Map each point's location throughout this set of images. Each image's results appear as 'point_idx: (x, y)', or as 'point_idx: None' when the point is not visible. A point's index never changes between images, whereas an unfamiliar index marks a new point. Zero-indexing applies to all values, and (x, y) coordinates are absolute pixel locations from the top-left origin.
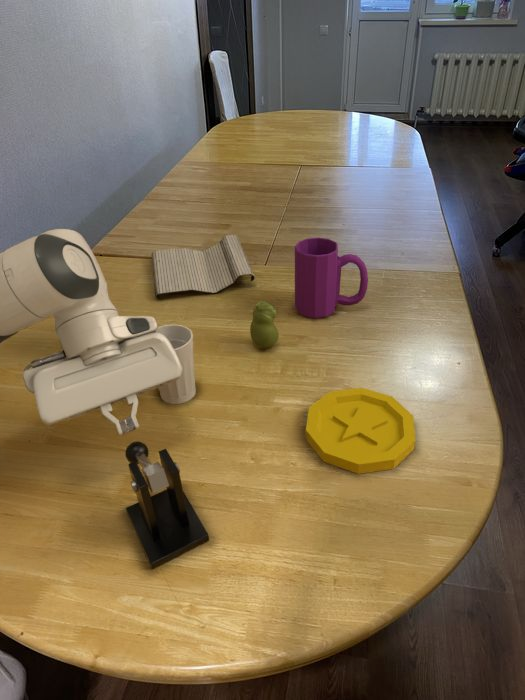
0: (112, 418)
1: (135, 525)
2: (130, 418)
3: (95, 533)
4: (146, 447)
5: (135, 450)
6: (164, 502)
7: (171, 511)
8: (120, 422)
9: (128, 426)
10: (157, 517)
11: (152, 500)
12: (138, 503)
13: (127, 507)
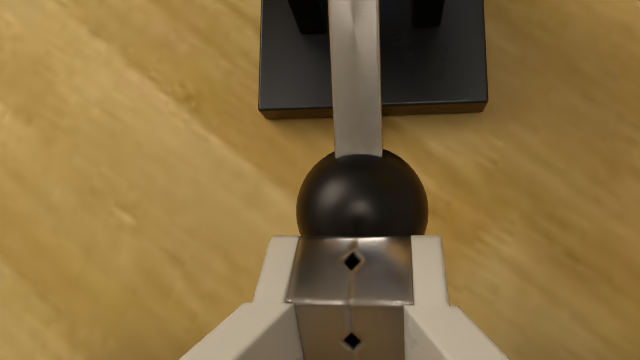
0: (463, 342)
1: (476, 6)
2: (302, 295)
3: (621, 83)
4: (301, 192)
5: (368, 165)
6: None
7: None
8: (399, 293)
9: (348, 249)
10: (390, 2)
11: None
12: (434, 96)
13: (481, 99)
